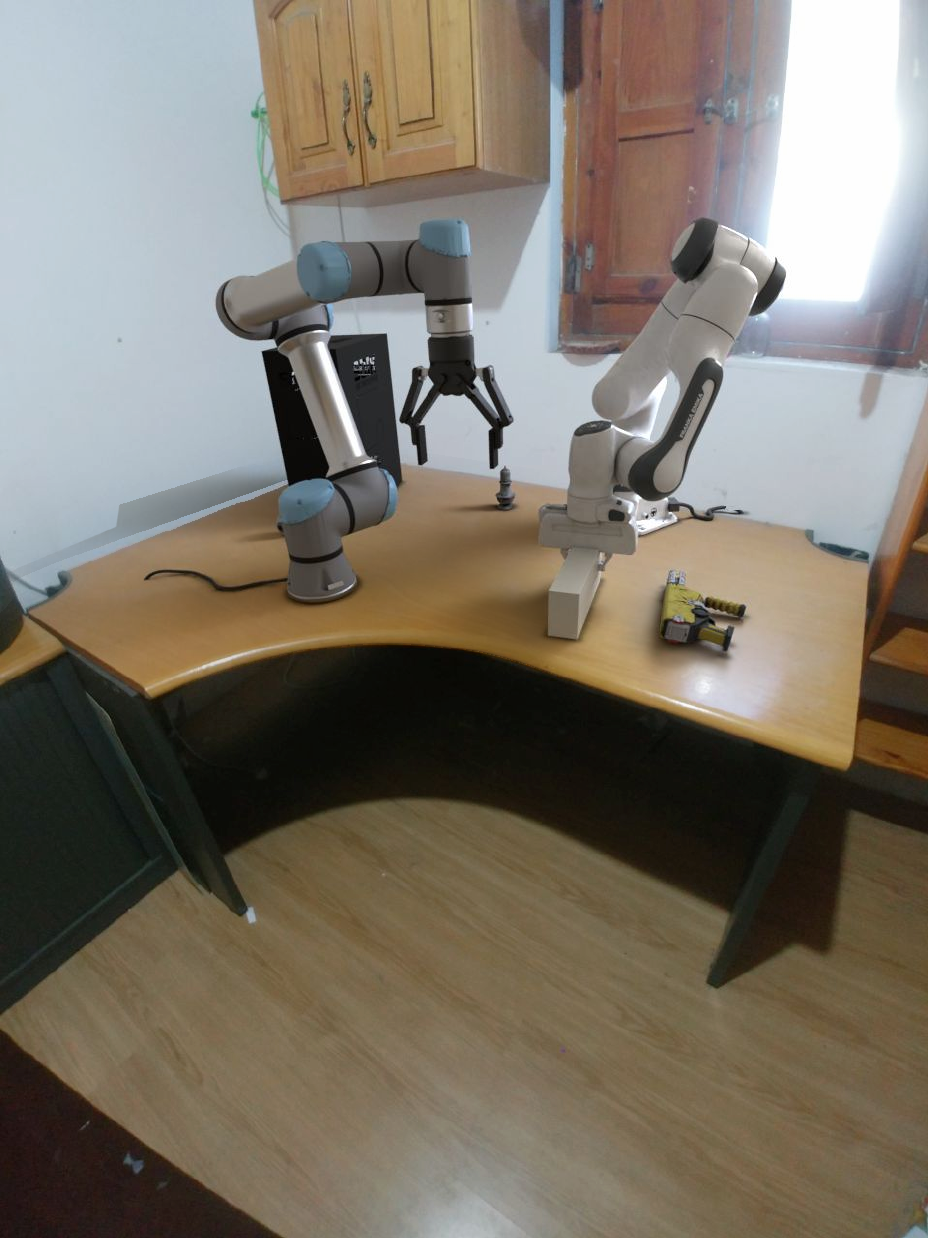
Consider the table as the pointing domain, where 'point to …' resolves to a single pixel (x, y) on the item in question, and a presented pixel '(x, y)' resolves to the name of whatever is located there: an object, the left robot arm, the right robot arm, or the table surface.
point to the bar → (573, 592)
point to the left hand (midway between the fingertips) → (457, 465)
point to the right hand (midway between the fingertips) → (585, 568)
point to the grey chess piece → (505, 491)
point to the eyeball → (279, 525)
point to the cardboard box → (364, 398)
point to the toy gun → (693, 614)
